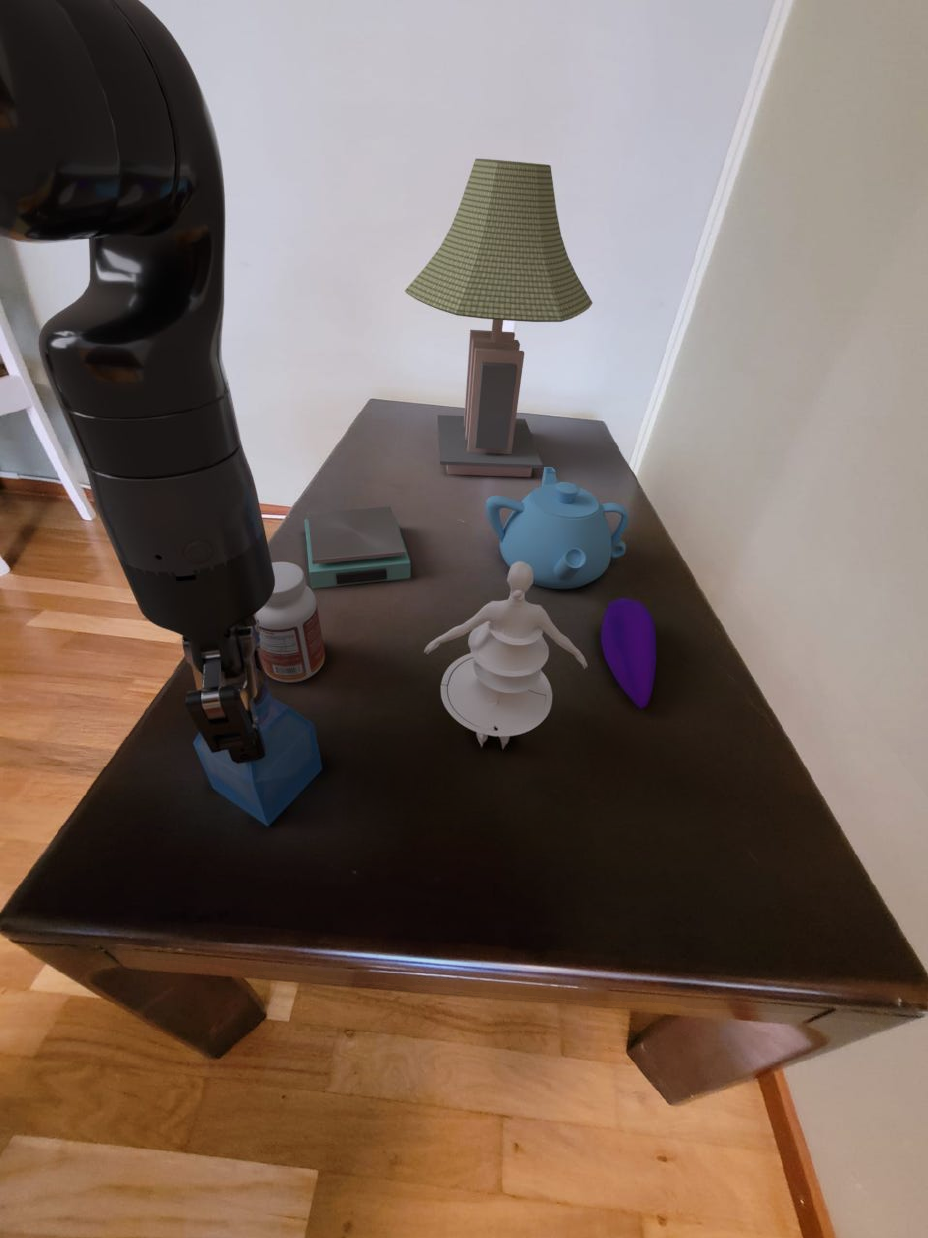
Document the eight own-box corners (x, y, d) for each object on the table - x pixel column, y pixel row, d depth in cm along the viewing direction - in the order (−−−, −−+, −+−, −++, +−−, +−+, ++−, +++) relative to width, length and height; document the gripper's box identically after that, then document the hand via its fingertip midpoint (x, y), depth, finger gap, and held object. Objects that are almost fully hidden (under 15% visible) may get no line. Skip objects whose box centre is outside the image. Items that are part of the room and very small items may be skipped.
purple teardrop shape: (626, 691, 50) (603, 581, 60) (612, 720, 54) (593, 611, 64) (677, 695, 50) (646, 584, 60) (660, 723, 54) (633, 614, 64)
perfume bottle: (322, 769, 46) (304, 673, 38) (268, 827, 42) (235, 732, 34) (269, 736, 48) (242, 639, 41) (212, 788, 44) (170, 691, 36)
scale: (311, 590, 64) (308, 569, 62) (306, 535, 73) (303, 514, 71) (411, 580, 67) (411, 559, 65) (394, 528, 76) (394, 508, 74)
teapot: (464, 566, 70) (471, 487, 63) (537, 518, 81) (550, 446, 73) (564, 621, 63) (585, 539, 56) (630, 561, 74) (655, 486, 66)
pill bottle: (305, 633, 59) (290, 548, 51) (337, 665, 55) (326, 578, 48) (251, 660, 55) (227, 572, 48) (282, 695, 52) (262, 607, 45)
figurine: (559, 701, 54) (607, 528, 41) (567, 786, 47) (628, 610, 33) (428, 689, 54) (434, 512, 41) (415, 772, 47) (418, 591, 33)
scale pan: (312, 564, 63) (312, 560, 63) (307, 516, 71) (307, 512, 70) (405, 555, 66) (405, 551, 65) (391, 510, 73) (390, 506, 73)
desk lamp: (406, 423, 105) (406, 151, 79) (549, 429, 107) (595, 167, 81) (403, 485, 86) (401, 152, 59) (577, 491, 88) (649, 174, 62)
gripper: (137, 471, 34) (205, 662, 45) (77, 621, 23) (185, 821, 34) (263, 465, 35) (299, 650, 46) (260, 600, 25) (307, 797, 36)
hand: (250, 722), depth 40 cm, fingers closed on perfume bottle, 5 cm apart
